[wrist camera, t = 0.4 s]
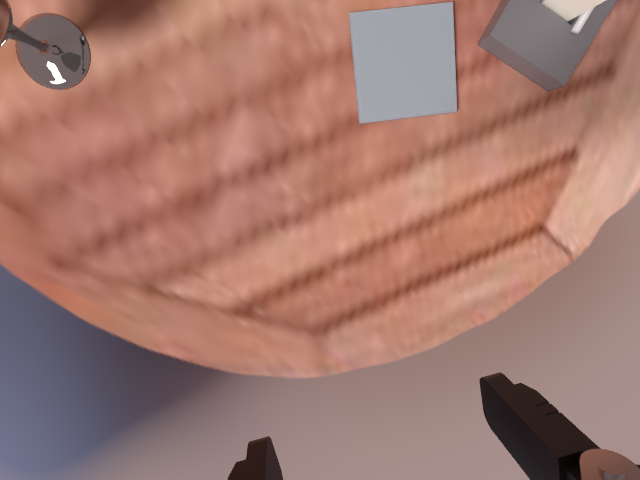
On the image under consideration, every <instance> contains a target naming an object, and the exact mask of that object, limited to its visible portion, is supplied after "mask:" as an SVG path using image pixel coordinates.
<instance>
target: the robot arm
mask: <svg viewBox="0 0 640 480" xmlns="http://www.w3.org/2000/svg"><path fill="white" fill-rule="evenodd" d="M480 388H481V395H482V403H483V411H484V415H485V418H486V420H487V422H488V424H489V426H490V428H491V429H492V431H493V432H494V433H495V435H496V436H497V437H498V439H499V440H500V441H501V442H502V444H503V445H504V446H505V447H506V449H507V450H508V451H509V453H510V454H511V455H512V457H513V458H514V459H515V460H516V462H517V463H518V464H519V465H520V467H521V468H522V469H523V471H524V472H525V473H526V475H527V476H528V477H529V479H530V480H640V465H636V464H634V463H633V462H632V461H631V460H629V459H628V458H626V457H624V456H622V455H620V454H618V453H616V452H613V451H610V450H605V449H600V448H599V447H598V446H597V445H596V444H595V443H593V442H592V441H591V440H590V439H589V438H588V437H587V436H586V435H585V434H583V432H581V431H580V430H579V429H578V428H577V427H576V426H575V425H574V424H573V423H572V422H570V421H569V420H568V419H567V418H566V417H565V416H564V415H563V414H562V413H559V412H558V410H557V409H556V408H555V407H554V406H553V405H552V404H549V402H548V401H547V400H546V399H545V398H544V397H543V396H542V395H541V394H540V393H538V392H537V391H536V390H534V389H532V388H530V387H528V386H526V385H524V384H522V383H519V384H516V385H514V384H513V383H512V382H511V381H510V380H509V379H508V378H507V377H506V376H505V375H504V374H502V373H496V374H492V375H489V376H485V377H482V378H480ZM228 480H283V477H282V472H281V468H280V465H279V462H278V459H277V456H276V453H275V450H274V447H273V443H272V441H271V438H270V437H265V438H261V439H257V440H254V441H250V442H249V443H248V449H247V457H246V460H243V461H239V462H236V464H235V466H234V468H233V469H232V471H231V473H230V475H229V477H228Z"/></svg>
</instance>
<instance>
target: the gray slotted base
mask: <svg viewBox="0 0 640 480" xmlns="http://www.w3.org/2000/svg"><path fill="white" fill-rule="evenodd" d="M540 1H541V0H502V1H501V2H500V4H499V6H498V8H497V10H496V11H495V13H494V15H493V17H492V19H491V20H490V22H489V24H488V26H487V28H486V29H485V31H484V33H483V35H482V36H481V38H480V40H479V42H478V44H477V45H479V46H480V47H482V48H483V49H485V50H486V51H488V52H489V53H491V54H492V55H494V56H495V57H497V58H498V59H500V60H501V61H503V62H504V63H506V64H507V65H509V66H510V67H512V68H513V69H515V70H516V71H518V72H520V73H521V74H523V75H524V76H526V77H527V78H529V79H530V80H532V81H533V82H535V83H536V84H538V85H539V86H541V87H542V88H544V89H545V90H547V91H550V90H554V89H557V88H560V87H563V86H565V85H566V83H567V82H568V80H569V78H570V77H571V75H572V73H573V72H574V70H575V68H576V67H577V65H578V64H579V62H580V60H581V59H582V57H583V55H584V54H585V52H586V50H587V49H588V47H589V45H590V44H591V42H592V41H593V39H594V37H595V36H596V34H597V32H598V31H599V29H600V27H601V26H602V24H603V22H604V21H605V19H606V17H607V16H608V14H609V13H610V11H611V9H612V8H613V6H614V4H615V3H616V1H617V0H606V1H604V2H602V3H601V4H599V5H597V6H595V7H593V8H591V9H590V10H588V11H586V12H584V13H582V14H581V15H579V16H577V17H575V18H573V19H571V20H570V21H568V22H566V21H565V20H563V19H562V18H560V17H559V16H558V15H556V14H555V13H553V12H552V11H551V10H549V9H548V8H546V7H545V6H544V5H542V4H541V3H539V2H540Z"/></svg>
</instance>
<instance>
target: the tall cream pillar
mask: <svg viewBox="0 0 640 480" xmlns="http://www.w3.org/2000/svg"><path fill="white" fill-rule="evenodd" d="M604 1H606V0H541V1H540V2H539V3H541V4H542V5H544V6H545V7H546V8H548V9H549V10H551V11H552V12H553V13H555V14H556V15H558V16H559V17H560V18H562V19H563V20H565V21H566V22H568V21H570V20H571V19H573V18H575V17H577V16H579V15H581V14H582V13H584V12H586V11H588V10H590V9H591V8H593V7H595V6H597V5H599V4H601V3H602V2H604Z"/></svg>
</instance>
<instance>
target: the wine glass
mask: <svg viewBox="0 0 640 480" xmlns="http://www.w3.org/2000/svg"><path fill="white" fill-rule="evenodd" d="M7 39H13V40H16V53H17V57H18V60H19V62H20V64H21V66H22V68H23V69H24V71H25V72H26V73H27V74H28V75H29V77H30V78H32V79H33V80H34V81H35V82H37V83H38V84H40V85H42V86H44V87H47V88H50V89H57V90H62V89H68V88H71V87H73V86H75V85H77V84H78V83H79V82H81V81H82V80H83V78H84V77H85V76H86V74H87V72H88V69H89V66H90V50H89V46H88V43H87V41H86V38H85V37H84V35H83V33H82V32H81V31H80V30H79V28H78V27H77V26H76V25H75V24H73V23H72V22H71V21H69V20H68V19H66V18H64V17H62V16H60V15H56V14H50V13H43V14H38V15H34V16H32V17H30V18H29V19H27V20H26V21H25V22H24V23H23V24H22V26H21V27H20V29H19V28H18V27H16V26H15V25H14V24H13V15H12V10H11V6H10V3H9V0H0V47H1V46H2V45H3V44H4V43H5V42H6V41H7Z"/></svg>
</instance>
